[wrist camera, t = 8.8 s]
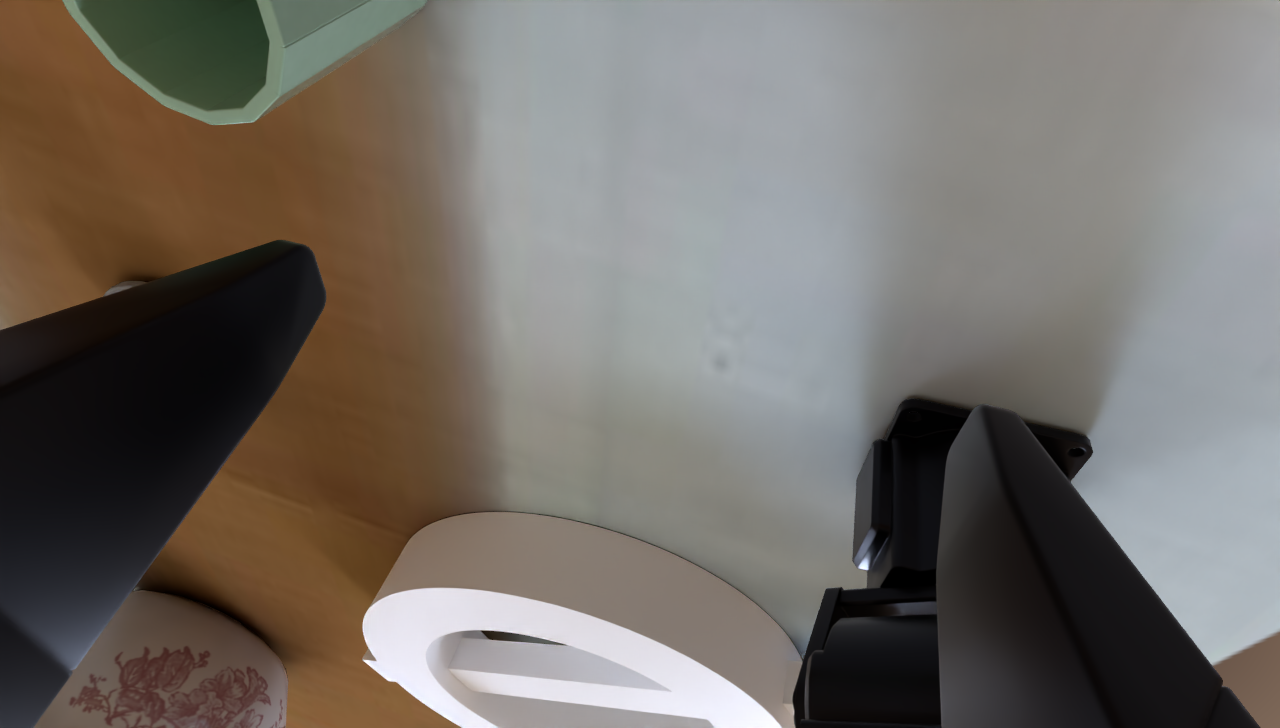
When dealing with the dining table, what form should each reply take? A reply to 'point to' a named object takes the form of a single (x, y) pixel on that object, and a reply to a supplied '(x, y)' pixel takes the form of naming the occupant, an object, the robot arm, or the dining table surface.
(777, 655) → the ring with crossbar
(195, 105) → the plastic cup
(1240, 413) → the dining table surface
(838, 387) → the dining table surface
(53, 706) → the chamber pot
